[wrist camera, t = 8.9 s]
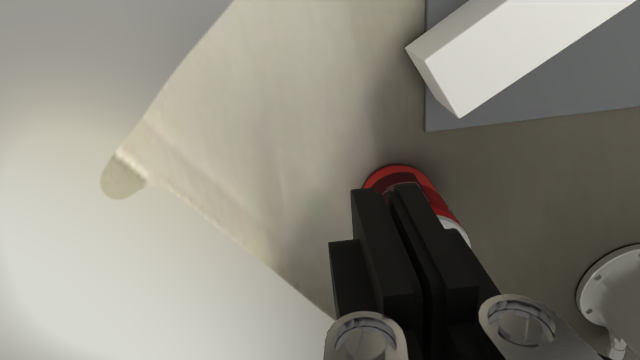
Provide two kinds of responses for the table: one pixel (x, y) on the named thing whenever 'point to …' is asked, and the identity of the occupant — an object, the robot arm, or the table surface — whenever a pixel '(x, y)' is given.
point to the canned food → (406, 174)
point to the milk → (499, 44)
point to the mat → (556, 76)
